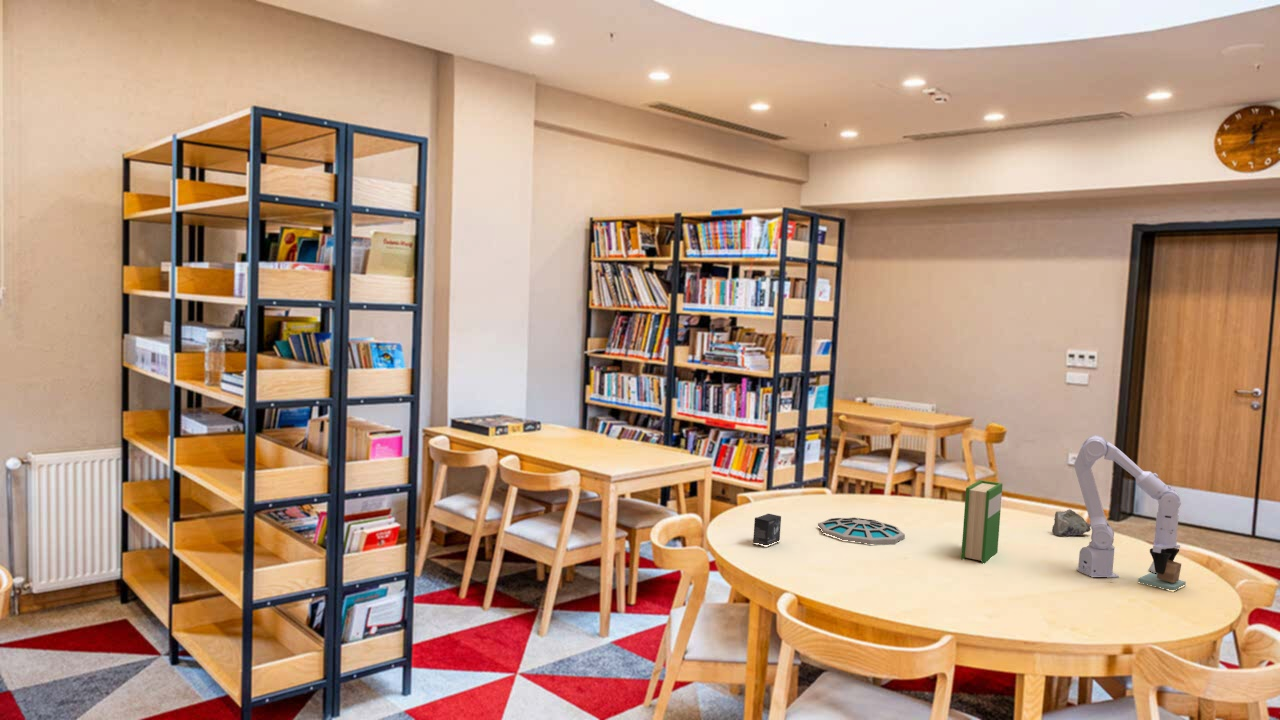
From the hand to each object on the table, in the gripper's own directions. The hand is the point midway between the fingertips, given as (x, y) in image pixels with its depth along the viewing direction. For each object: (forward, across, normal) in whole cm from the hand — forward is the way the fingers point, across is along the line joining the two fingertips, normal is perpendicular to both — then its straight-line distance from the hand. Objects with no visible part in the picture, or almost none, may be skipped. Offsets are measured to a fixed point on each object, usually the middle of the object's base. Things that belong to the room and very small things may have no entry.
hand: (1162, 571), depth 265 cm
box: (+4, -73, +98) cm, 122 cm away
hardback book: (+4, -20, +49) cm, 53 cm away
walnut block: (+2, 0, -2) cm, 2 cm away
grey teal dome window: (+5, -32, +88) cm, 94 cm away
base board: (+4, 0, 0) cm, 4 cm away
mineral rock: (+4, +37, +43) cm, 57 cm away
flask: (+4, +14, +4) cm, 16 cm away
